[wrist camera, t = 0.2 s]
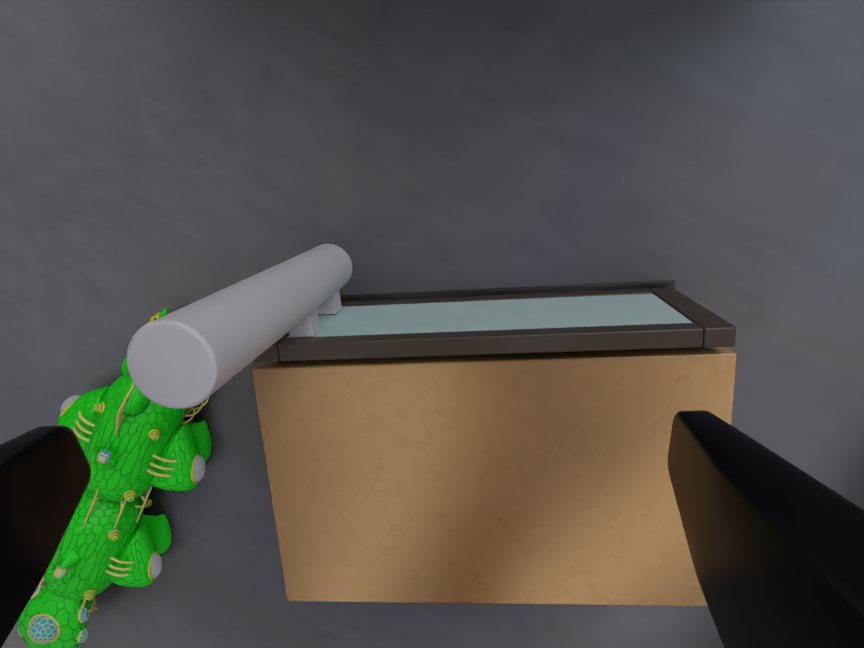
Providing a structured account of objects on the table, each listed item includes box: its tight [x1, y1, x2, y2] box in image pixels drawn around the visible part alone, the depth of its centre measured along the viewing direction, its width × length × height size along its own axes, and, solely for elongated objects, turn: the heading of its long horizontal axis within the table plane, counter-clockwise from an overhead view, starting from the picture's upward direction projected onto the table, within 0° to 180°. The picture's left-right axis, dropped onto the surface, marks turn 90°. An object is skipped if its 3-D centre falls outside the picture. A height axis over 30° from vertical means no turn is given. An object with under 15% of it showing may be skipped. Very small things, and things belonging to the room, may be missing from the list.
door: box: [127, 244, 736, 409], centre depth 16 cm, size 15×3×12 cm, turn 94°
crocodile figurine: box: [18, 308, 212, 648], centre depth 25 cm, size 7×18×4 cm, turn 153°
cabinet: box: [252, 281, 737, 606], centre depth 21 cm, size 15×10×6 cm, turn 94°
